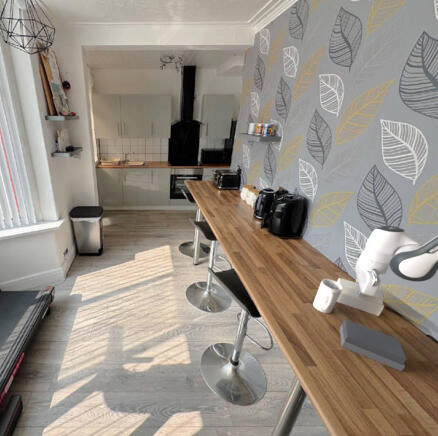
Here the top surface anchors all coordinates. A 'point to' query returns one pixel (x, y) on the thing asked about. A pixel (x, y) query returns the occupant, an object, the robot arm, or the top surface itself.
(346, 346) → the grey rectangular block
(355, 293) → the cream rectangular block
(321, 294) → the mug
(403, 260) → the robot arm
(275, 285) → the top surface
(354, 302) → the white rectangular block
